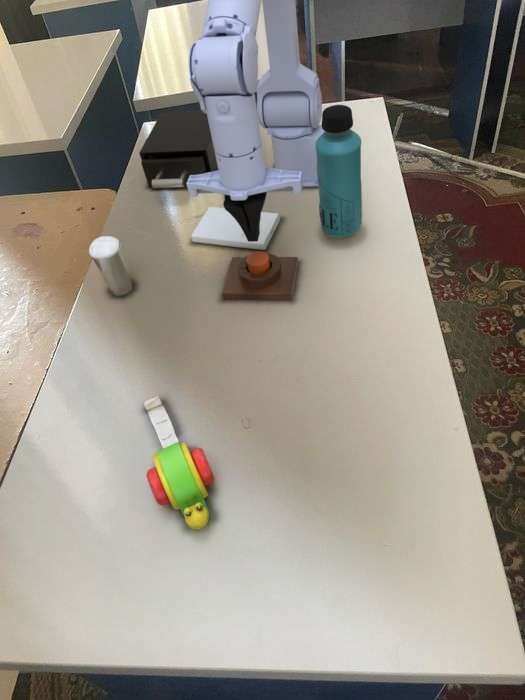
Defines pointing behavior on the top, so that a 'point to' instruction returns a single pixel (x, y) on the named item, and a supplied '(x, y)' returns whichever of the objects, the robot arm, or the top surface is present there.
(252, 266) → the release button
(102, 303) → the top surface
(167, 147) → the small drawer cabinet
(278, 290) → the control block
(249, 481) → the top surface
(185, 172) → the black drawer
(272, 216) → the hard drive
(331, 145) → the beverage bottle
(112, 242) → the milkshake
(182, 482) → the toy measuring tape
